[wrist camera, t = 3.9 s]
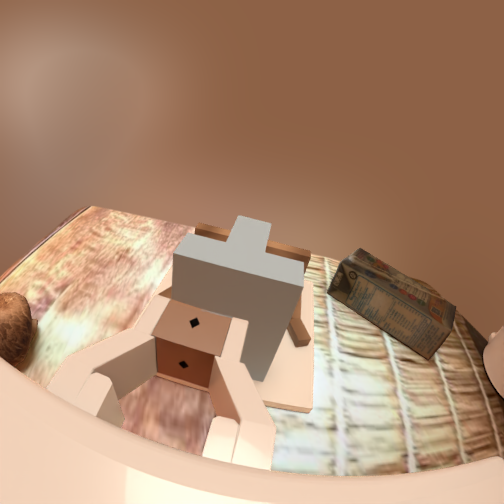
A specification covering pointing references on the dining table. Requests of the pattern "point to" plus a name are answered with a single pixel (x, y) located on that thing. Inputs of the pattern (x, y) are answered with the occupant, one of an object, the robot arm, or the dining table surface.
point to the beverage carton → (393, 302)
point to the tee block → (241, 286)
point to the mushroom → (15, 327)
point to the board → (278, 362)
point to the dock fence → (295, 324)
